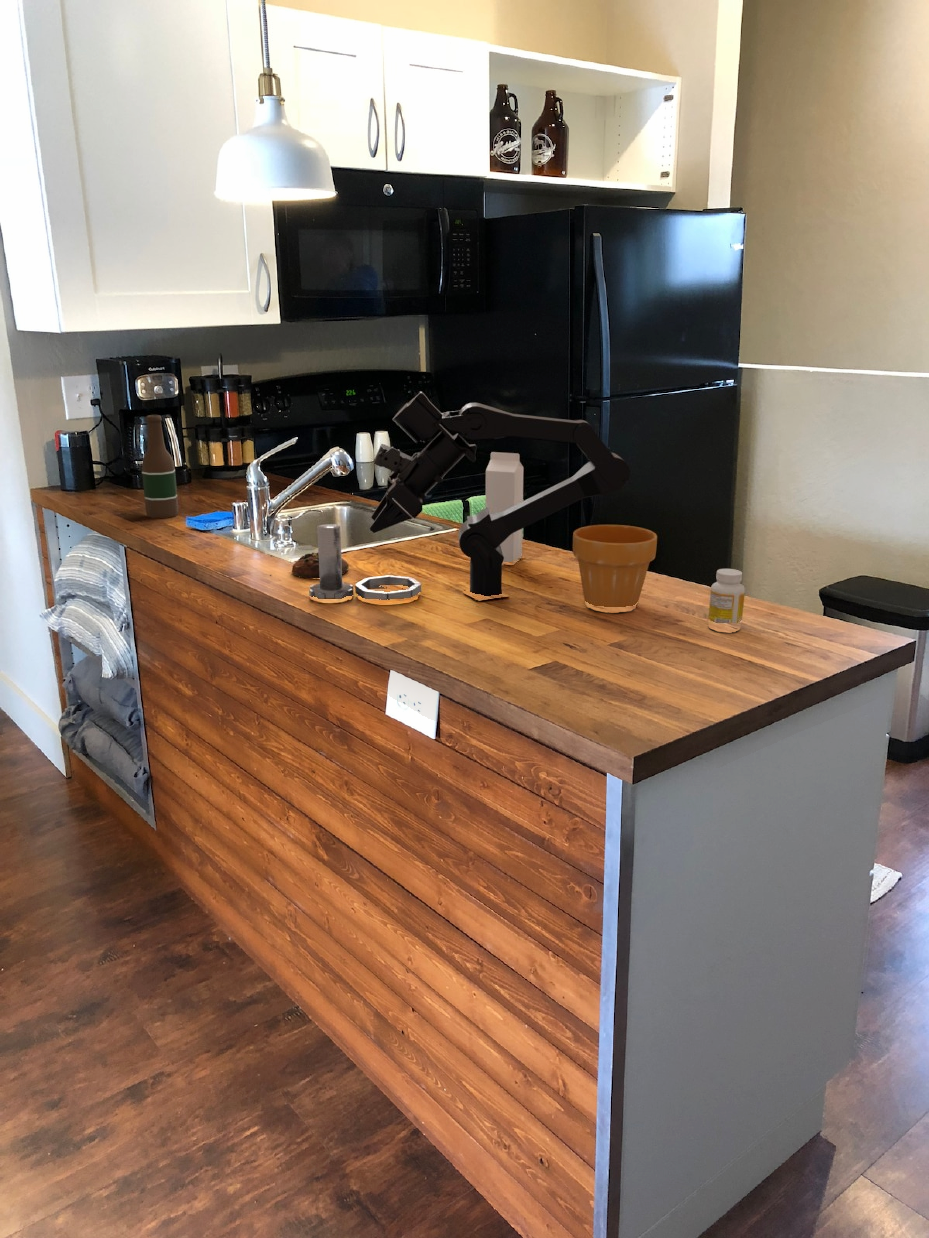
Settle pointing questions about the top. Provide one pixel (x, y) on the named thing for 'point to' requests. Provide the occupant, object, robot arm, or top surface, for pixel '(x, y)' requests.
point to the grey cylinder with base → (330, 565)
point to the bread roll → (311, 566)
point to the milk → (505, 495)
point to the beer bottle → (158, 474)
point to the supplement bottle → (727, 597)
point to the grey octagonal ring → (375, 582)
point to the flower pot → (613, 562)
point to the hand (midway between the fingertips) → (372, 525)
